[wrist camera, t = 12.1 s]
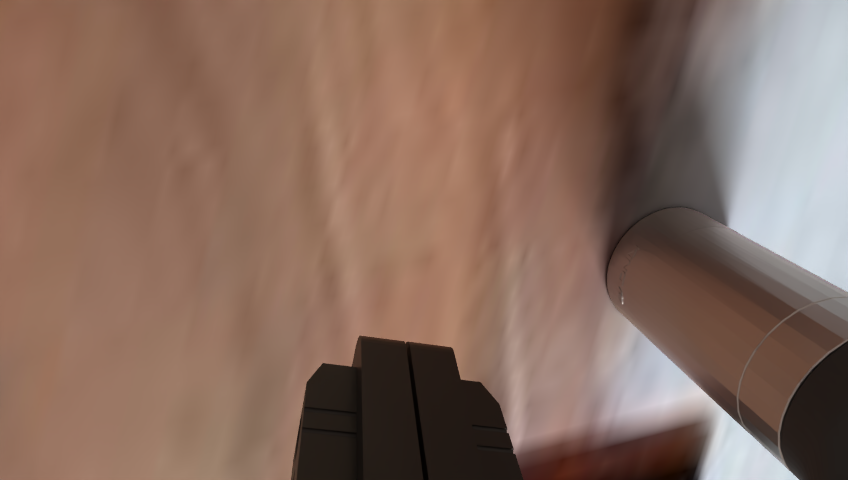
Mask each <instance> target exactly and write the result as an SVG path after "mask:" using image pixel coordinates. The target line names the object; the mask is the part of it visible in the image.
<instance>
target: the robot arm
mask: <svg viewBox="0 0 848 480" xmlns="http://www.w3.org/2000/svg"><path fill="white" fill-rule="evenodd" d="M607 289H608V292H609V296H610V299H611V301H612V302H613V304H614V306H615V308H616V309H617V310H618V311H619V312H620V313H621V314H622V315H624V316H625V317H626V318H627V319H628V320H629V321H630V322H631V323H632V324H633V325H634V326H635V327H636V328H637V329H638V330H639V331H640V332H642V333H643V334H644V335H645V336H646V337H647V338H648V339H649V340H650V341H651V342H652V343H653V344H654V345H655V346H656V347H657V348H658V349H659V350H660V351H661V352H663V353H664V354H665V355H666V356H667V357H668V358H669V359H670V360H671V361H672V362H673V363H674V364H675V365H676V366H678V367H679V368H680V369H681V370H682V371H683V372H684V373H685V374H686V375H687V376H688V377H689V378H690V379H691V380H693V381H694V382H695V383H696V384H697V385H698V386H699V387H700V388H701V389H702V390H703V391H704V392H705V393H706V394H708V395H709V396H710V397H711V398H712V399H713V400H714V401H715V402H716V403H717V404H718V405H719V406H720V407H722V408H723V409H724V410H725V411H726V412H727V413H728V414H729V415H730V416H731V417H732V418H733V419H734V420H735V421H737V422H738V423H739V424H740V425H741V426H742V427H743V428H744V429H745V430H746V431H747V432H748V433H750V434H751V435H752V436H753V437H754V438H755V439H756V440H757V441H758V442H759V443H760V444H762V445H763V446H764V447H765V448H766V449H767V450H768V451H769V452H770V453H771V454H772V455H773V456H774V457H775V458H777V459H778V460H779V461H780V462H781V463H782V464H783V465H784V466H785V467H786V468H787V469H788V470H789V471H791V472H792V473H793V474H794V475H795V476H796V477H797V478H798V479H799V480H848V292H846V291H844V290H843V289H841V288H839V287H837V286H835V285H833V284H831V283H830V282H828V281H826V280H824V279H822V278H820V277H819V276H817V275H815V274H813V273H811V272H809V271H807V270H806V269H804V268H802V267H800V266H798V265H796V264H795V263H793V262H791V261H789V260H787V259H785V258H783V257H782V256H780V255H778V254H776V253H774V252H772V251H771V250H769V249H767V248H765V247H763V246H761V245H759V244H758V243H756V242H754V241H752V240H750V239H748V238H746V237H745V236H743V235H741V234H739V233H738V232H736V231H734V230H732V229H730V228H729V227H727V226H725V225H723V224H721V223H719V222H717V221H716V220H714V219H712V218H710V217H708V216H706V215H704V214H703V213H701V212H698V211H695V210H693V209H690V208H681V207H675V208H667V209H663V210H660V211H657V212H655V213H652V214H650V215H649V216H647V217H645V218H643V219H642V220H640V221H639V222H638V223H637V224H635V225H634V226H633V227H632V228H630V230H629V231H628V232H627V233H626V234H625V235H624V236H623V238H622V239H621V240H620V242H619V243H618V245H617V247H616V248H615V250H614V252H613V255H612V257H611V260H610V263H609V267H608V273H607ZM291 480H523V477H522V474H521V471H520V468H519V465H518V461H517V458H516V455H515V454H513V446H512V443H511V439H510V436H509V433H507V427H506V424H505V421H504V417H503V414H502V411H501V408H500V405H499V403H498V402H497V401H496V400H495V399H494V398H493V396H492V395H491V394H490V393H489V392H488V391H487V389H486V388H485V387H484V386H483V385H482V384H481V382H475V381H466V380H461V379H460V375H459V371H458V367H457V363H456V359H455V355H454V351H453V349H452V348H451V347H445V346H437V345H429V344H422V343H414V342H406V344H405V342H404V341H397V340H389V339H382V338H374V337H366V336H359V338H358V341H357V345H356V349H355V354H354V359H353V364H352V367H349V366H341V365H333V364H325V363H323V364H322V365H321V366H320V367H319V368H318V370H317V371H316V372H315V373H314V374H313V376H312V377H311V378H310V379H309V380H308V382H307V385H306V390H305V396H304V402H303V408H302V413H301V419H300V425H299V431H298V436H297V442H296V448H295V454H294V459H293V468H292V476H291Z"/></svg>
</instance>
